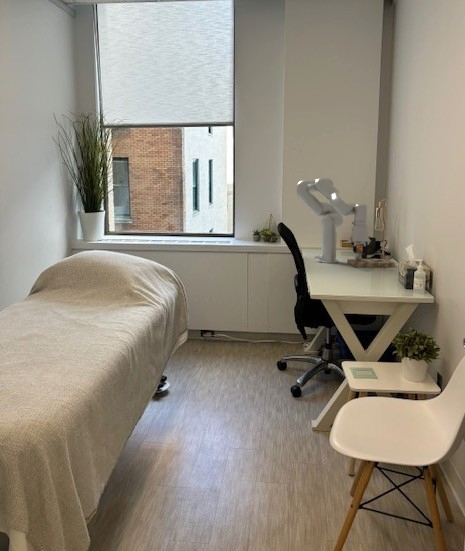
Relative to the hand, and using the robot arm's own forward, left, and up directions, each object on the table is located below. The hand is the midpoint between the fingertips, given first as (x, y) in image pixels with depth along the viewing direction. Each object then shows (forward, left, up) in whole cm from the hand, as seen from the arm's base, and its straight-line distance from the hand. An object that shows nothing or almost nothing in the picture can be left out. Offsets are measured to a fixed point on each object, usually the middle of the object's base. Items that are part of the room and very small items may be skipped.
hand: (358, 252), depth 342 cm
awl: (0, 0, -6) cm, 6 cm away
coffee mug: (+12, +28, -9) cm, 32 cm away
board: (+8, 0, -8) cm, 12 cm away
